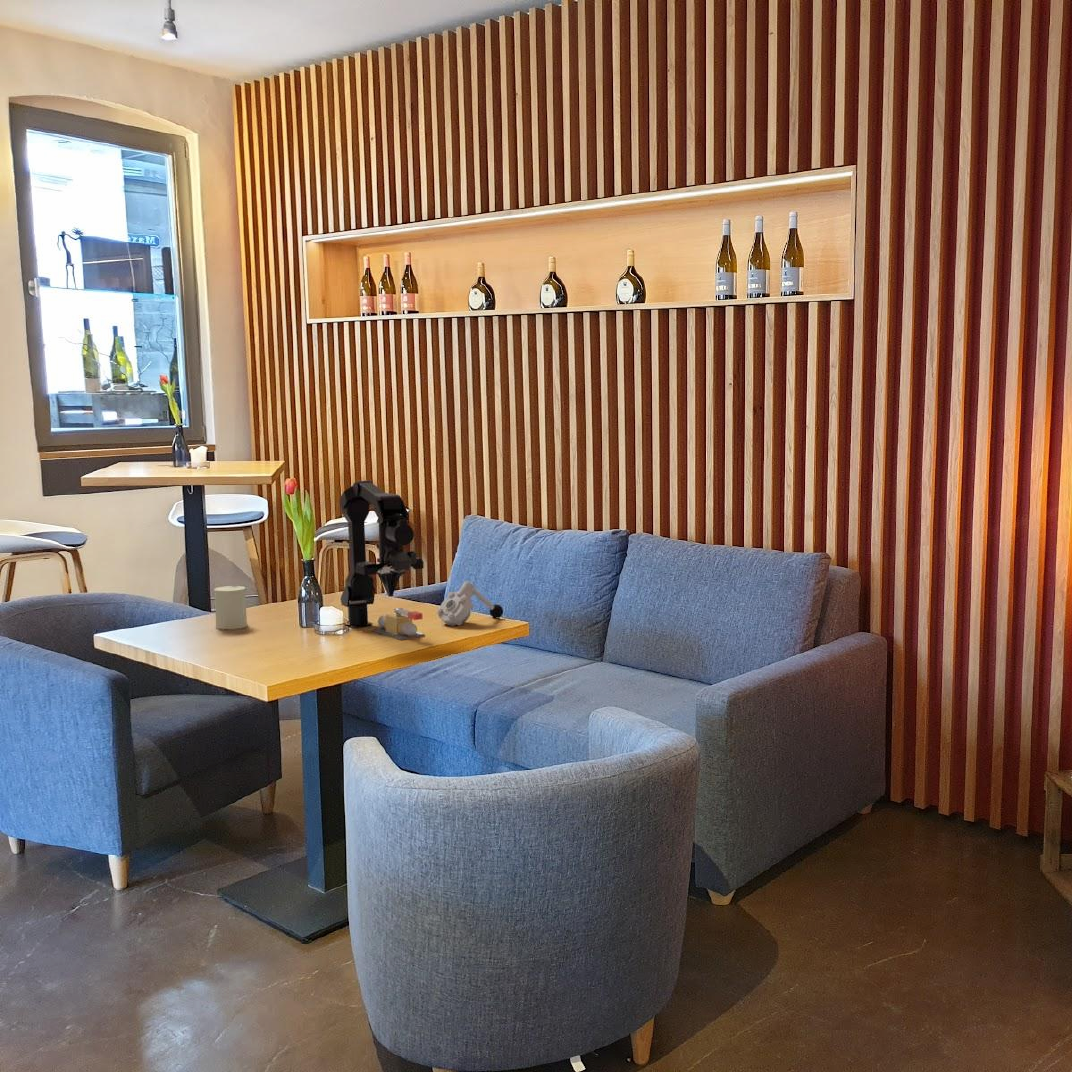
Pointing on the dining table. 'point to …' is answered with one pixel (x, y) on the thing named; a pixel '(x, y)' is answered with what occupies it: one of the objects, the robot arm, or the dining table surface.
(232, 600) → the can
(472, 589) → the mechanical valve
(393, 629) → the pipe valve
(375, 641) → the dining table surface
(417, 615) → the valve lever
